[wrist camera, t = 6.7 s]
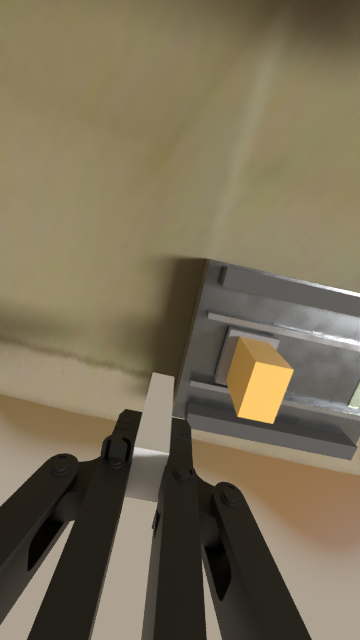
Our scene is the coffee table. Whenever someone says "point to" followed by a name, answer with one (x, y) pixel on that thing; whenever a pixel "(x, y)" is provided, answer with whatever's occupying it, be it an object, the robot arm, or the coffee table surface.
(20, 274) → the coffee table surface
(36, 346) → the coffee table surface
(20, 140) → the coffee table surface
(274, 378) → the handle
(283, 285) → the pair of guide rails
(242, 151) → the coffee table surface
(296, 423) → the grey rail base
